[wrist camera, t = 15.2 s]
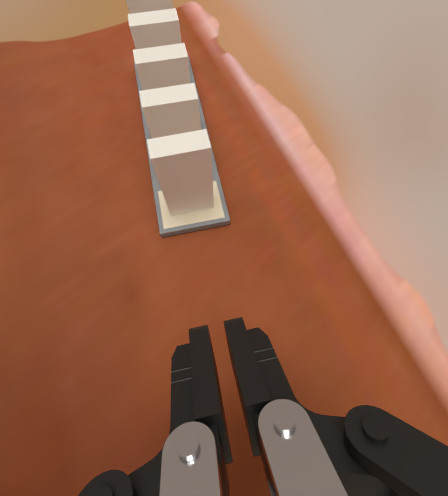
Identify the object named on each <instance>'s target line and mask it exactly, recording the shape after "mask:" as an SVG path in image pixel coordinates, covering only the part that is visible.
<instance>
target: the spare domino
mask: <svg viewBox="0 0 448 496" xmlns="http://www.w3.org/2000/svg"><path fill="white" fill-rule="evenodd" d="M147 144H148V150H149V156H150V160H151V163H152V165H153V168H154V171H155V174H156V176H157V179H158V182H159V185H160V187H161V190H162V193H163V195H164V198H165V201H166V204H167V206H168V209H169V212H170V214H171V216H176V215H181V214H186V213H191V212H195V211H200V210H205V209H210V208H214V196H213V174H212V153H211V145H210V141H209V138H208V134H207V130H206V129H203V130H197V131H192V132H186V133H180V134H175V135H169V136H164V137H158V138H152V139H147Z"/></svg>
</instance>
